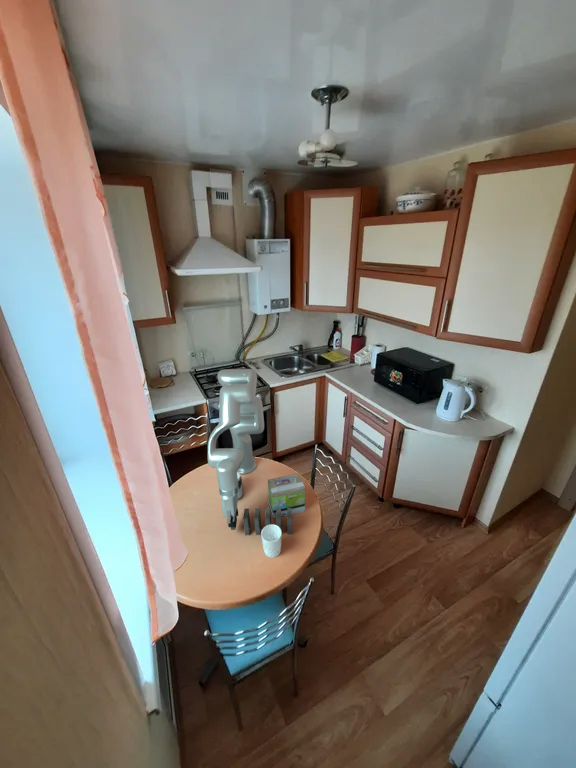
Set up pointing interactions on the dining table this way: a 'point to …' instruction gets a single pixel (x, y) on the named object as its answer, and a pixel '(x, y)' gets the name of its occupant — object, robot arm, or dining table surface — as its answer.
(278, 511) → the tile
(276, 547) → the white cup
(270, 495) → the tea box
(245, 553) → the dining table surface
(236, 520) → the tile
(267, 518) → the tile
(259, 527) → the tile
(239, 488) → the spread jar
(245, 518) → the tile
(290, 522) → the tile
